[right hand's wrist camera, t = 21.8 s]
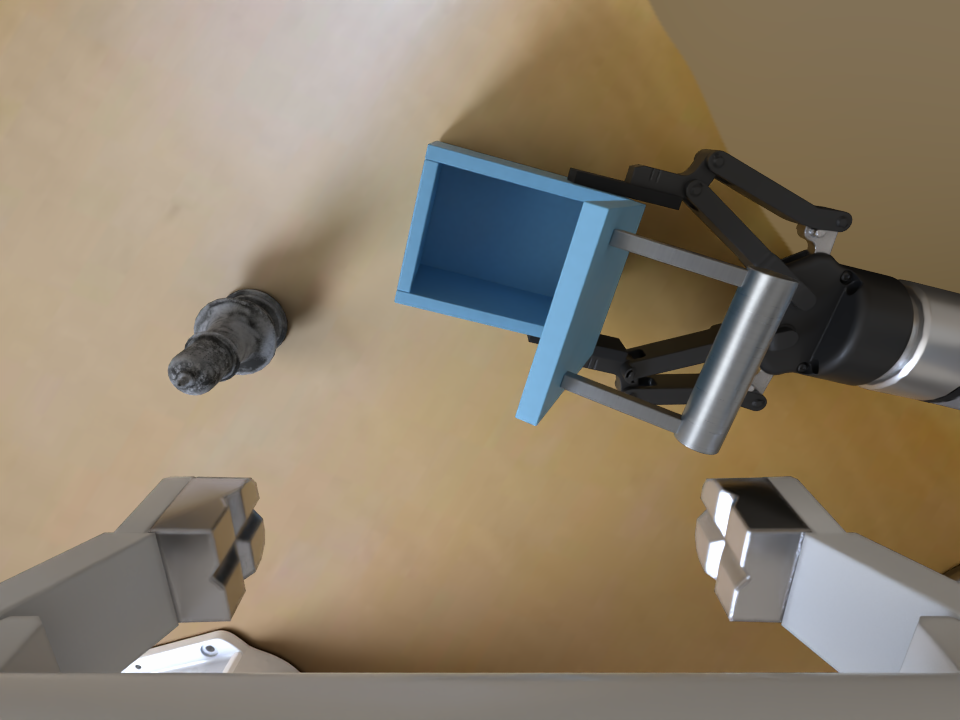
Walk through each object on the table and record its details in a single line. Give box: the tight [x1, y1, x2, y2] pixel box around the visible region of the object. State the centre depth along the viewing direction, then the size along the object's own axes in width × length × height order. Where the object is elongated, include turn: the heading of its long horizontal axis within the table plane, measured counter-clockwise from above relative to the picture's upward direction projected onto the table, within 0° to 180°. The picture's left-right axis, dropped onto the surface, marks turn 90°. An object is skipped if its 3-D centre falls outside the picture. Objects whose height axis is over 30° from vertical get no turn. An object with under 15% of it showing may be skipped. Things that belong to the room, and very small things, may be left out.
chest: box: [395, 141, 633, 338], centre depth 38 cm, size 12×9×9 cm
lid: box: [516, 200, 799, 455], centre depth 27 cm, size 12×9×8 cm
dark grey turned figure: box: [168, 289, 287, 395], centre depth 39 cm, size 6×6×12 cm
